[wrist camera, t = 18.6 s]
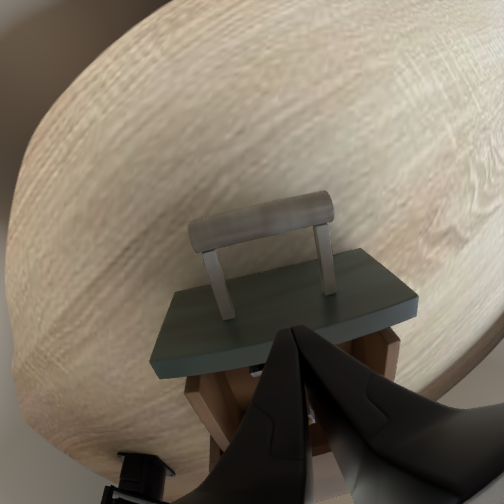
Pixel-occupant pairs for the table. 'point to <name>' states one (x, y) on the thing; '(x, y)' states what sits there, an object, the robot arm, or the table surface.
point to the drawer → (274, 311)
